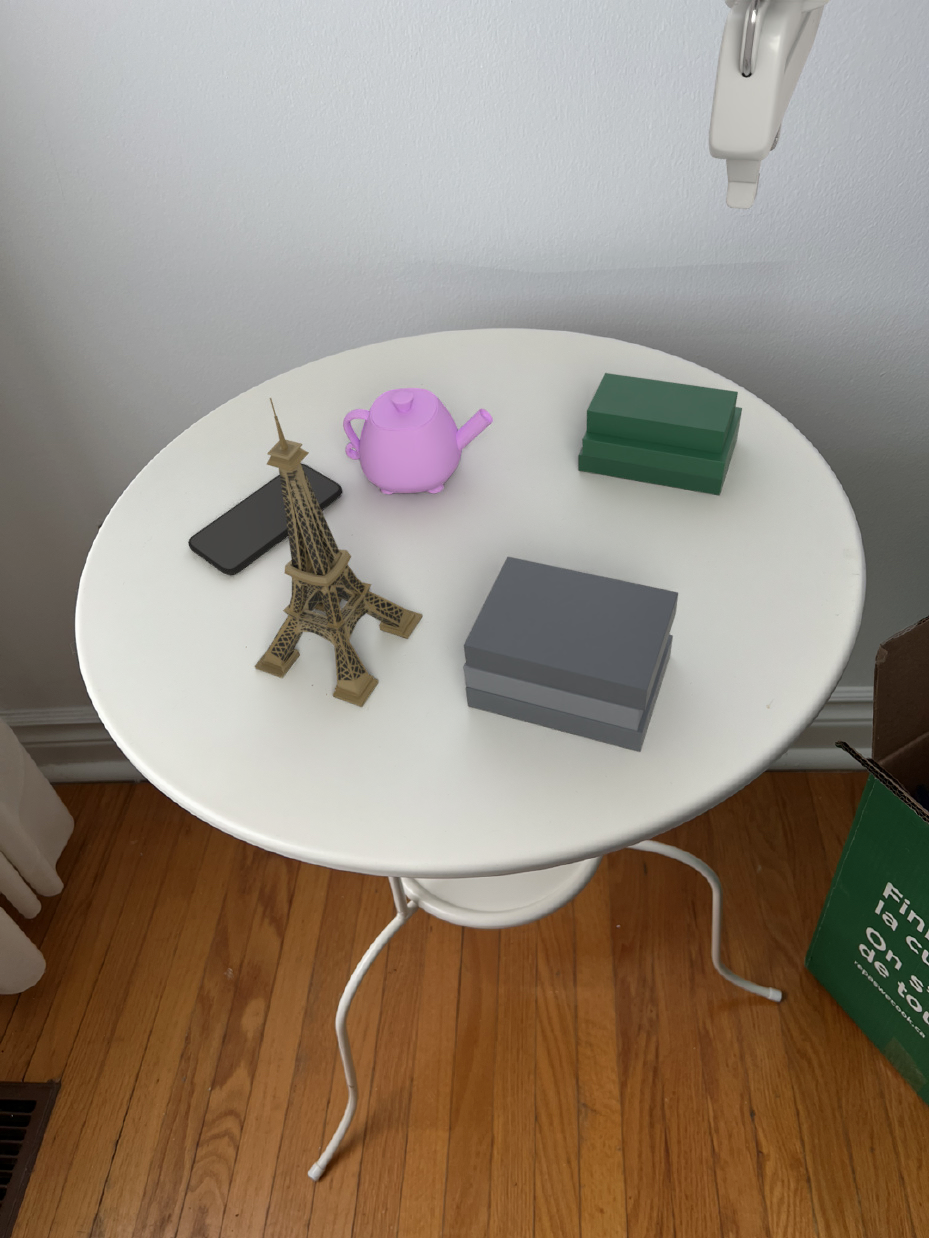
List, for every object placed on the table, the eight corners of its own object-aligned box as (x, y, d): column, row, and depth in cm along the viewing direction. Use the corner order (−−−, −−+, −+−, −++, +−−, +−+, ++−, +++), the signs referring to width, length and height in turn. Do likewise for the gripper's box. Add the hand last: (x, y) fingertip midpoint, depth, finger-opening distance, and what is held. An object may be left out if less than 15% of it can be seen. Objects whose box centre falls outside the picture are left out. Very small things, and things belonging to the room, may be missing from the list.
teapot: (357, 443, 98) (341, 367, 91) (498, 439, 96) (493, 361, 89) (343, 508, 91) (324, 431, 84) (494, 505, 89) (488, 426, 82)
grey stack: (670, 654, 75) (678, 591, 70) (640, 752, 69) (646, 692, 64) (509, 617, 80) (505, 555, 74) (467, 706, 74) (459, 646, 68)
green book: (734, 413, 89) (738, 391, 87) (721, 454, 85) (724, 432, 84) (604, 394, 93) (605, 372, 91) (586, 432, 89) (586, 410, 87)
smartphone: (182, 541, 88) (298, 459, 95) (185, 548, 89) (300, 466, 96) (228, 574, 85) (346, 487, 91) (231, 581, 85) (348, 494, 92)
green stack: (737, 439, 93) (742, 406, 90) (719, 495, 88) (725, 462, 85) (602, 418, 97) (603, 386, 94) (577, 470, 92) (578, 438, 89)
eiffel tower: (422, 616, 80) (378, 369, 62) (362, 707, 74) (293, 463, 56) (321, 584, 84) (250, 342, 65) (255, 668, 78) (157, 427, 59)
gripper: (818, -13, 47) (775, 248, 57) (860, -108, 59) (819, 121, 70) (695, -14, 49) (674, 239, 59) (760, -105, 61) (734, 117, 71)
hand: (753, 174), depth 64 cm, fingers open, 8 cm apart
